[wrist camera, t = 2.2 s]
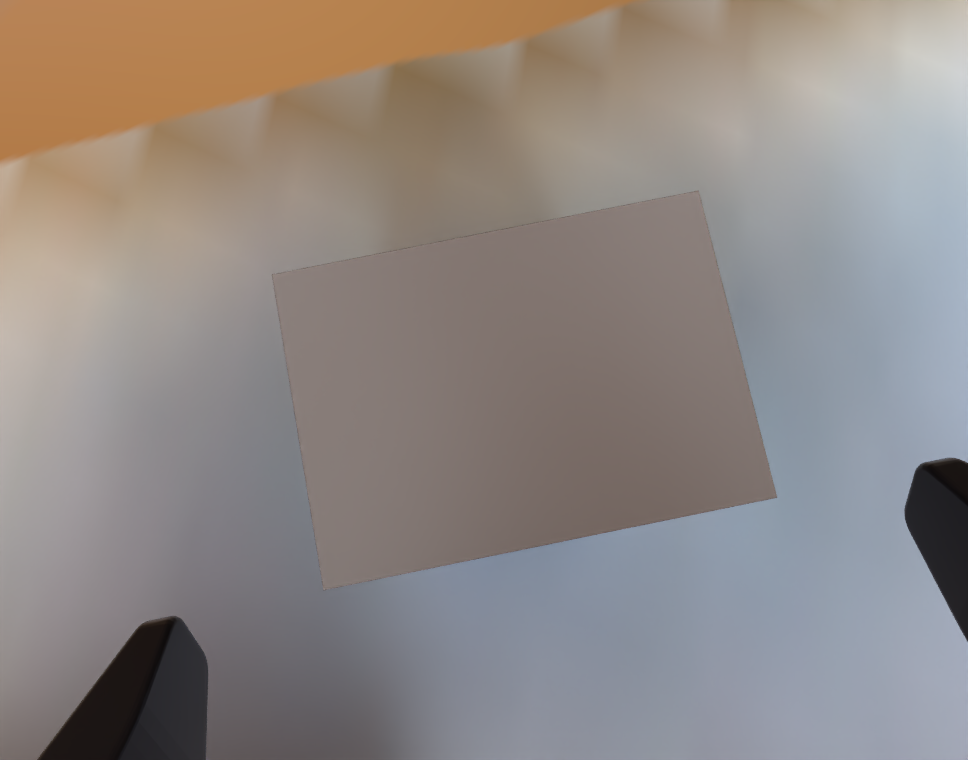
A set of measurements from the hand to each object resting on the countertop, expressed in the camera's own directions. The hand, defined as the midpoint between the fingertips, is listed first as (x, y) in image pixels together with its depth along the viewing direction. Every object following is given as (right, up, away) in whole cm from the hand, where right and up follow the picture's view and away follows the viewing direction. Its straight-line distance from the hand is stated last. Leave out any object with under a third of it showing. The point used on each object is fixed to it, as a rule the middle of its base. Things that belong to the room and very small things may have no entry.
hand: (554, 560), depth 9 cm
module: (0, +1, +10) cm, 10 cm away
